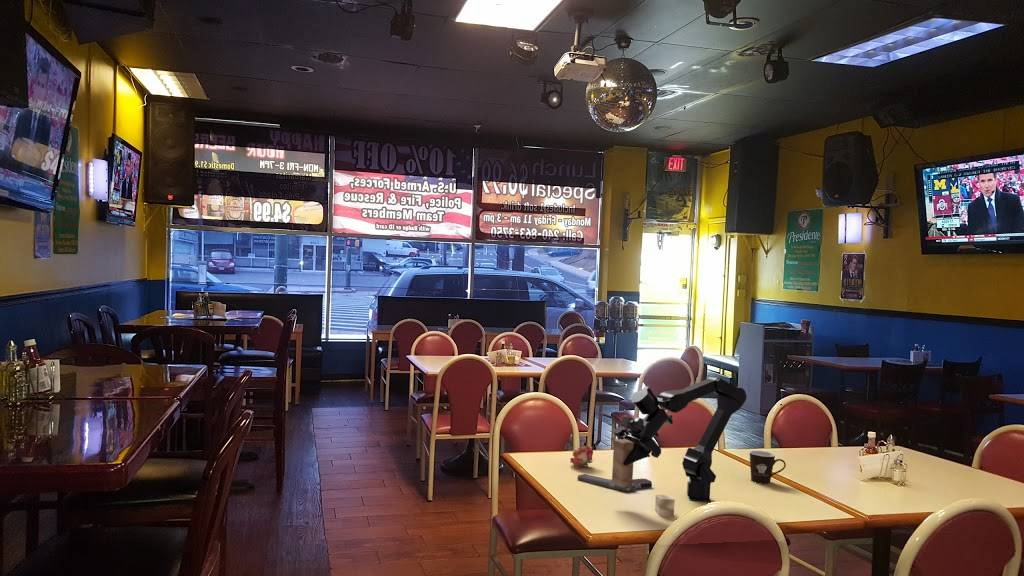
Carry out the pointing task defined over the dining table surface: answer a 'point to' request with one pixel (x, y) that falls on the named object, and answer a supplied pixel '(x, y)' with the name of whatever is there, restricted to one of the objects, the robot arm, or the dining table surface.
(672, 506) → the maple block
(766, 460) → the coffee mug
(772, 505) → the dining table surface
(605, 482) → the handgun
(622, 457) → the walnut block
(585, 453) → the flower
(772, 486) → the dining table surface
